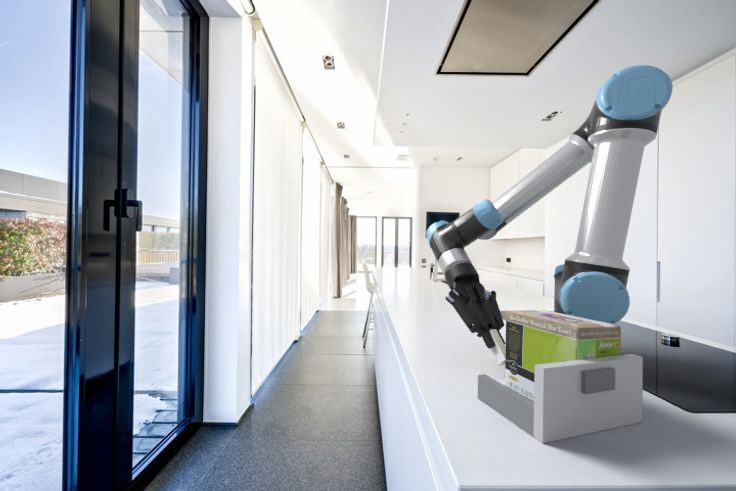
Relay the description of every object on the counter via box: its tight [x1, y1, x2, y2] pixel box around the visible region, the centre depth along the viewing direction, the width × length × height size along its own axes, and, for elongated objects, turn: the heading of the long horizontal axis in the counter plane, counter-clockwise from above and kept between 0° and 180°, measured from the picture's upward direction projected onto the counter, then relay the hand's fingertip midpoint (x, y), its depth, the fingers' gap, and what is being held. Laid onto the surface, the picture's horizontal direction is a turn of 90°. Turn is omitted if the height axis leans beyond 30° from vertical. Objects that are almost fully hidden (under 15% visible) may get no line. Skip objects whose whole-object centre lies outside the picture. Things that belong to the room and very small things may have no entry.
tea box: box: [504, 309, 622, 402], centre depth 55 cm, size 15×10×15 cm
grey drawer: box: [477, 353, 644, 444], centre depth 52 cm, size 20×14×10 cm
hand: (504, 362), depth 62 cm, fingers closed
